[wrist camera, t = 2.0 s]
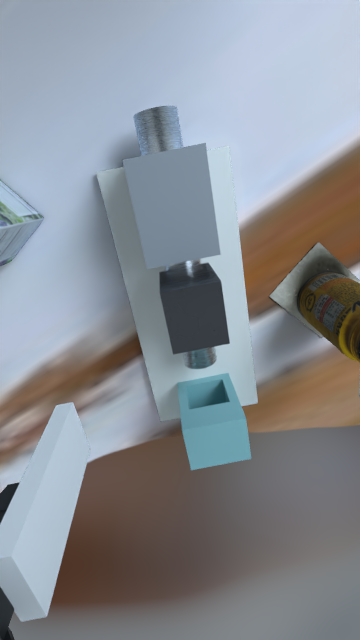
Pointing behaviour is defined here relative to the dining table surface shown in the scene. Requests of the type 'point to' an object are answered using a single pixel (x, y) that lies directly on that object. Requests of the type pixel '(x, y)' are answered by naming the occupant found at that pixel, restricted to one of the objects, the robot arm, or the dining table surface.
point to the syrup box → (15, 223)
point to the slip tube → (185, 266)
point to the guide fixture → (175, 247)
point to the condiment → (324, 299)
